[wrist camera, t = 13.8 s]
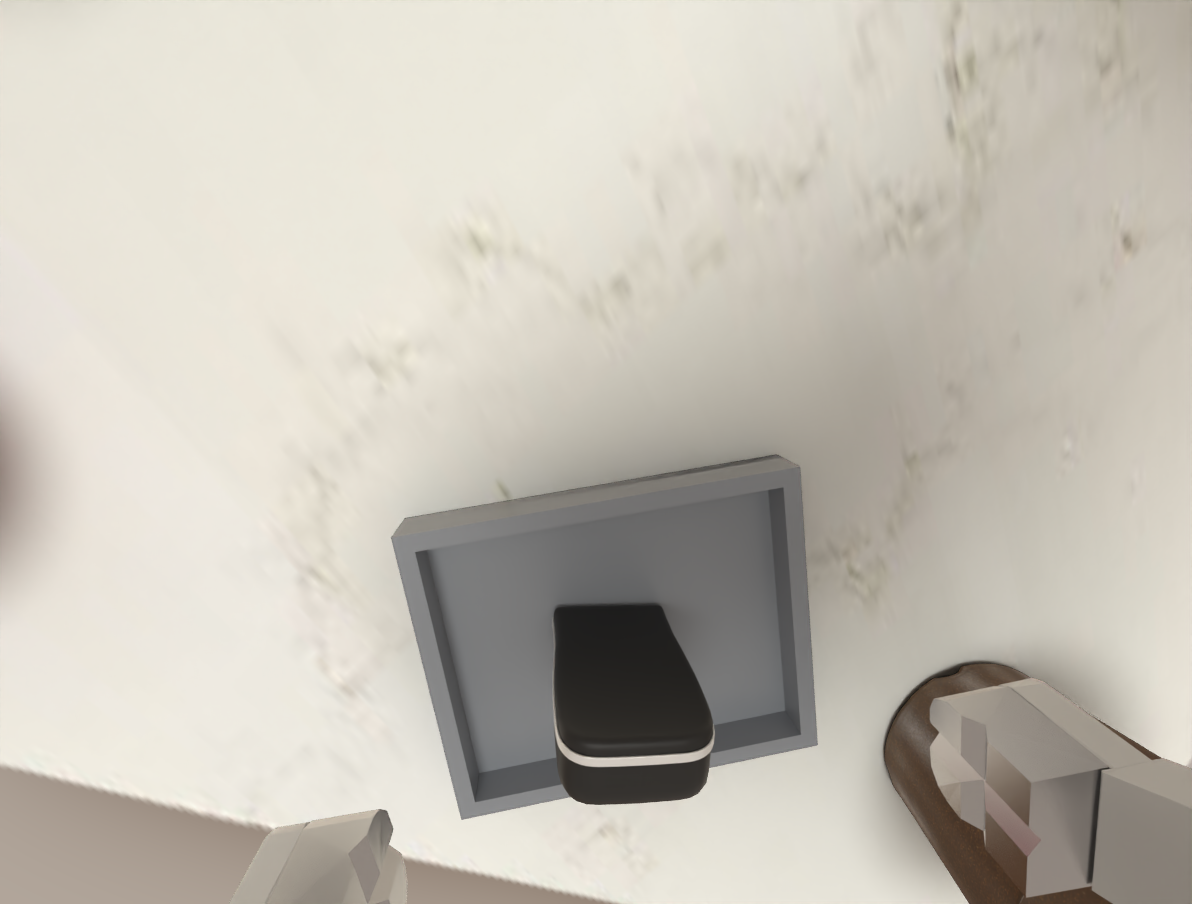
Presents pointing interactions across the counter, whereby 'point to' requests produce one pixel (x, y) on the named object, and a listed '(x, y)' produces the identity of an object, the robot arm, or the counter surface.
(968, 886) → the plant pot
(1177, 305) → the counter surface
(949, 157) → the counter surface
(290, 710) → the counter surface
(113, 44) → the counter surface
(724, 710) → the tray
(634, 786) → the battery charger
